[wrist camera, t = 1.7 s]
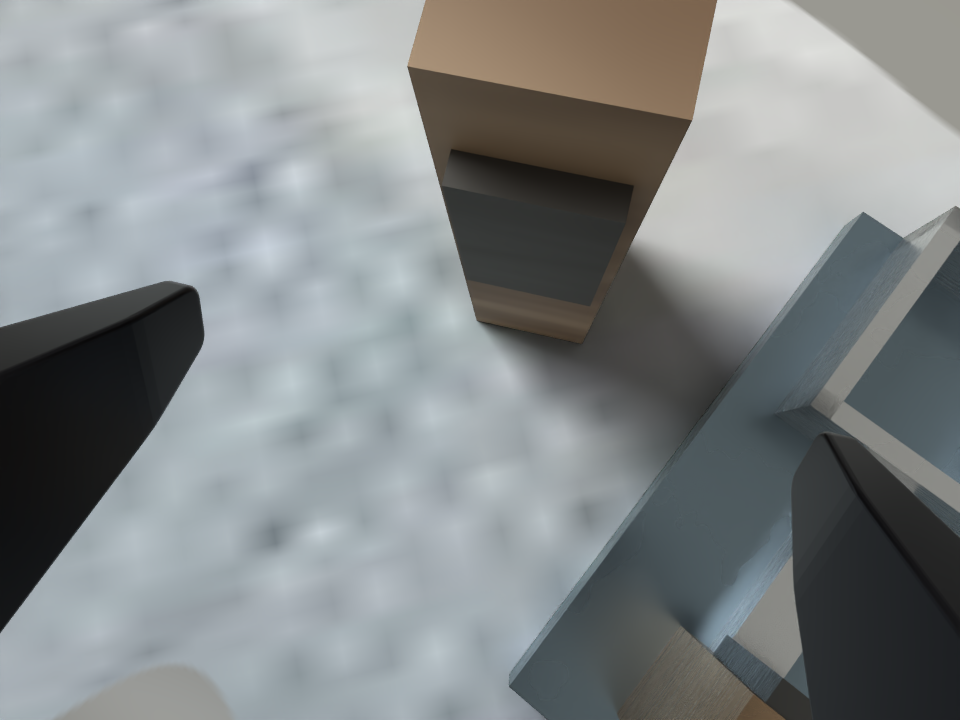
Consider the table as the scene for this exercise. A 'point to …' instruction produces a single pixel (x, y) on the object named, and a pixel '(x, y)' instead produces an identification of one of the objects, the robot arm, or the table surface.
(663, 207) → the table surface
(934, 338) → the rail
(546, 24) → the walnut finger
